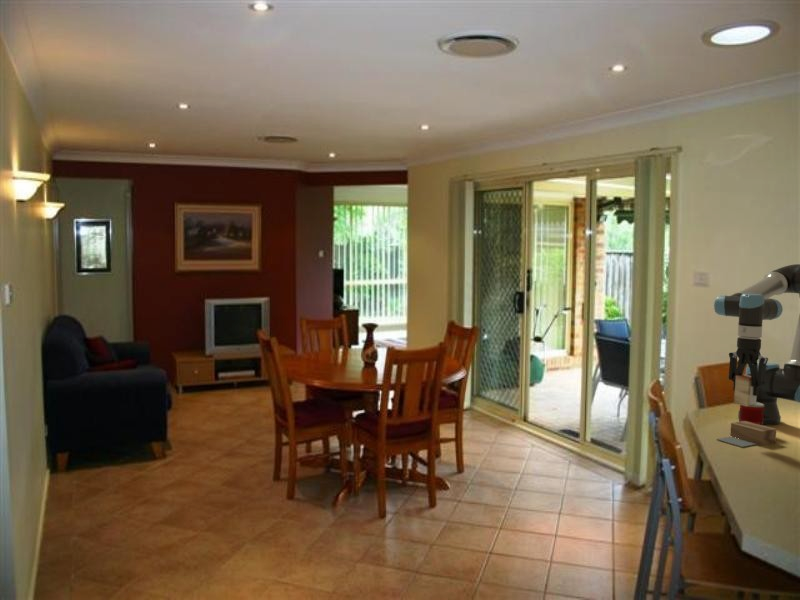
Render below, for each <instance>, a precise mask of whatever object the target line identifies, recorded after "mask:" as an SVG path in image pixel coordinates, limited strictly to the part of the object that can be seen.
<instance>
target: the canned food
mask: <svg viewBox="0 0 800 600" xmlns="http://www.w3.org/2000/svg"><path fill="white" fill-rule="evenodd" d="M739 410H740V415H739V418H738V422H741V421H748V422H751V423H755V424H759V425H763V426H764V424H763V418H764V404H762V403H759V402H756V405H754V406H743V405H739Z"/></svg>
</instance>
